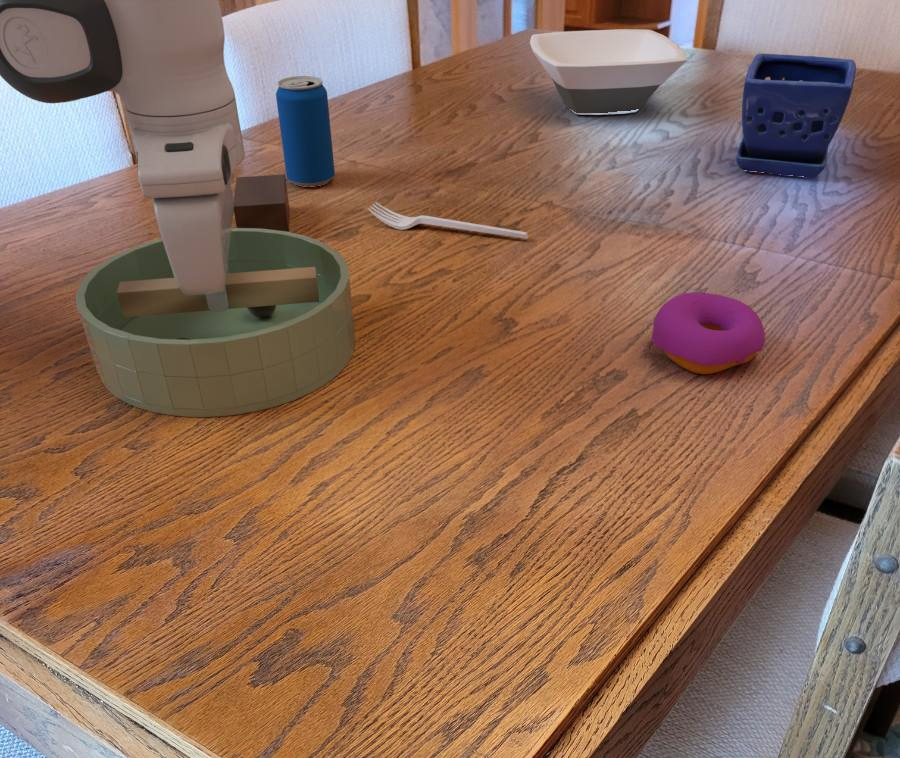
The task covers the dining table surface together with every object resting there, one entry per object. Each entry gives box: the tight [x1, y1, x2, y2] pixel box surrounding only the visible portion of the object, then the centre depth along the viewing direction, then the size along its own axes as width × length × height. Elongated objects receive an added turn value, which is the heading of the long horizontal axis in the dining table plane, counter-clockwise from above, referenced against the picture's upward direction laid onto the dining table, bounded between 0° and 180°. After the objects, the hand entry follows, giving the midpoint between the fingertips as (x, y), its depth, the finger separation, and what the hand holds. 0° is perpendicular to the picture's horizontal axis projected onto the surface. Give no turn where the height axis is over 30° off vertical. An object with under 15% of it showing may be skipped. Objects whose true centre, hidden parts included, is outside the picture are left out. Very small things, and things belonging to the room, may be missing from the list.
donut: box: [651, 291, 766, 375], centre depth 84 cm, size 10×10×5 cm
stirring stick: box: [117, 267, 319, 317], centre depth 84 cm, size 18×2×2 cm, turn 98°
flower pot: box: [735, 53, 857, 178], centre depth 119 cm, size 13×13×12 cm
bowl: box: [529, 28, 688, 113], centre depth 142 cm, size 22×23×8 cm
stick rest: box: [233, 173, 291, 232], centre depth 110 cm, size 6×10×4 cm, turn 8°
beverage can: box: [275, 75, 336, 187], centre depth 117 cm, size 6×6×12 cm
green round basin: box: [75, 227, 356, 418], centre depth 85 cm, size 25×25×7 cm
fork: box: [367, 201, 529, 240], centre depth 108 cm, size 3×20×2 cm, turn 69°
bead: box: [247, 305, 276, 318], centre depth 90 cm, size 3×3×3 cm
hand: (220, 299), depth 84 cm, fingers closed on stirring stick, 2 cm apart
